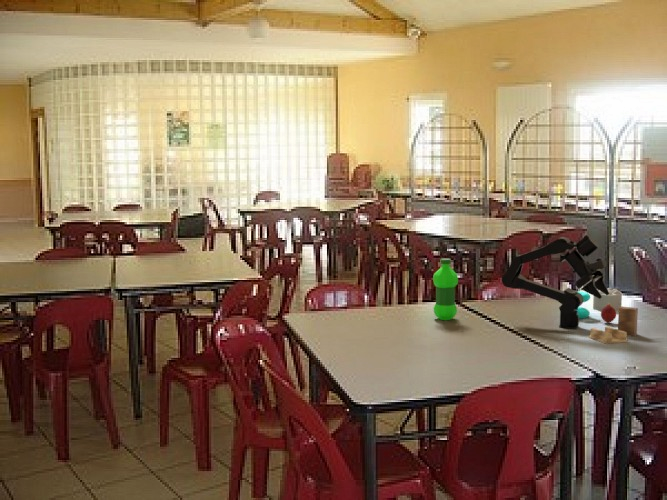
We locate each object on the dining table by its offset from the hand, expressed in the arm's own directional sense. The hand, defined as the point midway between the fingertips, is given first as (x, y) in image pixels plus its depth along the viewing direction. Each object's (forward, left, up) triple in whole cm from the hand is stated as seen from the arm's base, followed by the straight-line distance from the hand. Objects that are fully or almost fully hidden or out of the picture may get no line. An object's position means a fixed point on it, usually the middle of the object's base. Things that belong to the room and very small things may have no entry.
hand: (604, 296), depth 303 cm
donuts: (-12, +24, -14) cm, 30 cm away
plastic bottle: (-62, 0, -14) cm, 64 cm away
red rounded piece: (+1, +15, -14) cm, 20 cm away
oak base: (+3, -14, -14) cm, 20 cm away
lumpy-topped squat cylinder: (-1, +46, -14) cm, 48 cm away
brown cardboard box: (+9, -2, -14) cm, 16 cm away
